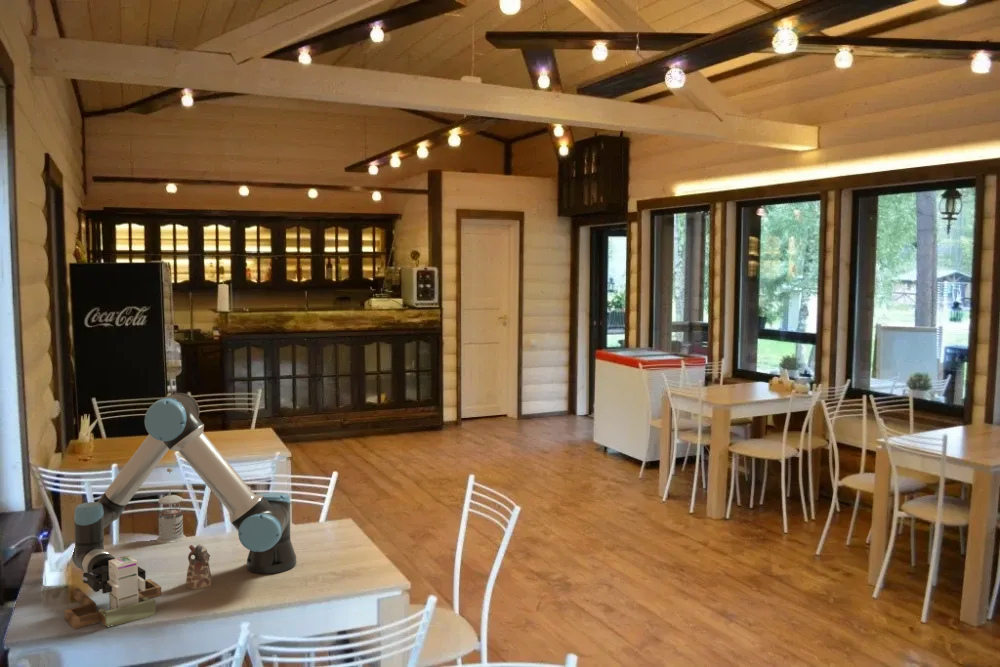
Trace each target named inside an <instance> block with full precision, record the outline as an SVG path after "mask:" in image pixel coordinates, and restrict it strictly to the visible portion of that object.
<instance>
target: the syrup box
mask: <svg viewBox="0 0 1000 667" xmlns="http://www.w3.org/2000/svg"><path fill="white" fill-rule="evenodd" d="M115 558H116V559H112V560H109V580H111V581H113V582H114V583H115V584H116V585H118V586H119V593H120V597H118V598H116V597H115V596H114V595H113V594H111V593H110V592H108V593H109V594H108V596H109V598H108V599H109V610H113V609H116V608H120V607H124V606H128V605H131V604H135V603H139V597H138V567H139V566H138V560H137V559H135V558H133V557H132V556H130V555H125V556H124V555H123V556H120V557H115Z"/></svg>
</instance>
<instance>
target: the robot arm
mask: <svg viewBox="0 0 1000 667" xmlns="http://www.w3.org/2000/svg"><path fill="white" fill-rule="evenodd" d="M199 417H200V406H199V404H198V402H197V400H196V399H195V398H194V397H193V396H191V395H190V394H187V393H184V392H177V393H176V392H175V393H172V394H170V395H168V396H165V397H163V398H160V399H157V400H156V401H155V402H154V403H153V404H151V405H150V406H149V408H148V409H147V410H146V412H145V415H144V427H145V430H146V432H147V433H148V435H147V436H146V437H145V439H143V442H141V444H140V445H139V447H138V448H137V449H136V451H134V453H133V454H132V456H131V457H130V459H129V460H128V461H127V462H126V464H125V465H124V466H123V468H122V469H121V470H120V471H119V473H118V474H117V475H116V477H115V478H114V480H112V482H111V483H110V485H109V486H108V487H107V489H106V490H105V491H104V493H103V494H102V495H101V497H99V499H98V501H89V502H88V501H87V502H82V503H80V504H78V505H76V506H75V508H74V516H73V522H74V546H75V548H74V547H73V548H74V552H73V555H72V558H71V560H72V562H73V563H74V565H75V566H76V567H77V568H78V569H80V570H81V571H82V572H83V573H82V581H83V582H82V583H83V584H86V585H87V586H88V587H90V589H91V590H93V592H94V593H97V592H100V590H102V591H101V592H102V595H103V594H107V593H109V592H110V593H111V594H113V595H114V596H115V597H116V598H118V597H120V593H119V586H118V585H116V584H115V583H114V582H113V581H111V580H109V560H112V559H116V558H117V557H114V556H113V555H112V554H110V553H109V551H106V550H105V549H104V548H105V546H104V545H105V544H104V543H105V542H104V541H105V538H104V537H105V536H104V534H105V533H104V532H105V530H104V529H105V528H107V527H108V526H109V525H110V524H112V523H113V522H115V521H116V520H118V519H119V518H120V517H121V515H122V514H123V512H124V510H125V508H126V506H127V505H128V503H129V502H130V501H131V499H132V498H134V496H135V494H136V493H137V491H138V490H139V489H140V488H141V487H142V485H143V484H144V483H145V481H146V480H147V479H148V478H149V476H150V475H151V474H152V472H153V471H154V469H155V468H156V467H157V465H158V464H160V462H161V461H162V459H163V458H164V456H165V455H166V454H167V453H168V451H173V452H174V451H175V452H178V453H179V454H180V456H182V457H183V459H184V460H185V461H186V463H188V465H189V466H190V467H191V468H192V469H193V470H194V471H195V473H196V474H197V475H198V476H199V478H200V479H201V480H202V481H203V482H204V484H205V485H206V486H207V487H208V489H209V490H210V491H211V492H212V493H213V495H214V496H215V497H216V498H217V499H218V500H219V502H220V503H221V504H222V505H223V506H224V508H226V510H227V511H228V512H229V513H230V519H229V520H230V521H229V522H230V523H231V525H233V527H234V528H235V529H236V531H238V532H237V533H238V534H237V535H238V540H239V542H240V544H241V545H242V546H243V547H244V548H245V549H246V550H249V553H248V555H247V560H246V570H248V571H249V572H251V573H253V574H254V573H256V574H263V575H264V574H265V575H266V574H277V573H281V572H286V571H288V570H291V569H293V568H294V567H295V566H296V565H297V555H296V553H295V549H294V547H293V543H292V540H291V499H290V494H288V493H286V492H262V493H256V494H255V492H254V491H253V490H252V489H251V488H250V486H248V484H247V483H246V482H245V481H244V479H242V477H241V476H240V475H239V473H238V472H237V471H236V470H235V469H234V467H233V466H232V465H231V464H230V462H228V460H227V459H226V458H225V457H224V455H223V454H222V453H221V452H220V451H219V449H218V448H217V447H216V446H215V444H213V442H212V440H211V439H209V437H208V436H207V435H206V433H205V432H204V428H205V424H204V423H203V422H202V420H201V419H200V418H199ZM146 575H147V574H146V570H145V569H143V568H141V567H140V566H138V588H139V589H140V590H141V591H145V580H147V579H146V578H147V576H146Z"/></svg>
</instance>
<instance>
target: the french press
mask: <svg viewBox="0 0 1000 667" xmlns="http://www.w3.org/2000/svg"><path fill="white" fill-rule="evenodd" d="M166 472H167V473H172V472H174V470H173V467H168V468H166ZM171 490H172V489H169V494H168V495H164V496H163V497H160V498H159V499H158V500H157V502H158V503H159V504H161V505H169V508H166V509H162V510H160V511H159V515H158V537H157V538H156V540H155V541H156V543H159V544H174V543H175V542H173V543H172V542H170V541H179V542H181V540H182V541H183V538H186V539H187V536H186V535H185V534H184V526H183V525H184V523H183V522H184V519H183V517H184V515H183V513H182V509H181V505H180V503H181V502H183V500H184V498H183V497H181V496H179V495H176V494H171ZM176 505H178V508H177V507H176ZM172 506H174V507H175V508H172Z"/></svg>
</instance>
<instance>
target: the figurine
mask: <svg viewBox="0 0 1000 667" xmlns="http://www.w3.org/2000/svg"><path fill="white" fill-rule="evenodd" d="M188 548H189V549H190V551H189V554H188V556H187V559H188V562H189V564H188V568H187V572H186V579H185V580H186V581H185V584H186V587H187V588H188V589H192V590H198V589H203V588H206V587H210V586H211V585H212V584H213V581H212V573H211V569H210V564H209V562H210V557H211V555H210V554H209V553H208V549H207V548H206V547H205V546H204V545H203V544H197V545H196V546H194V545H193V544H190V545H189V546H188ZM192 556H194V558H192Z"/></svg>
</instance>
